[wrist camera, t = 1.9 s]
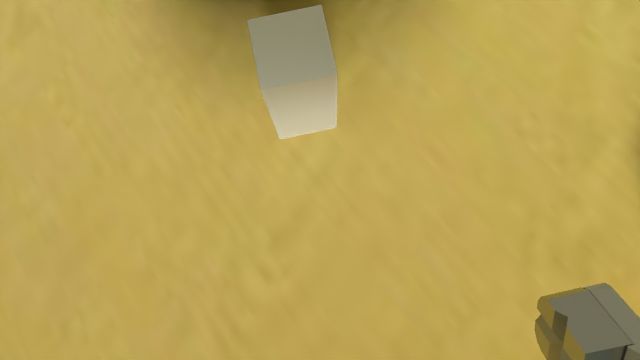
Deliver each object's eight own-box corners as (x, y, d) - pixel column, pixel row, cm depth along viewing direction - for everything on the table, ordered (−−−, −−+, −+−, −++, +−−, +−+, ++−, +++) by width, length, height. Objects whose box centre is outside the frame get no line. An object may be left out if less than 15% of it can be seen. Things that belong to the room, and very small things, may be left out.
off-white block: (279, 139, 37) (260, 90, 27) (269, 86, 38) (246, 19, 28) (336, 127, 37) (337, 73, 27) (324, 74, 38) (321, 4, 28)
